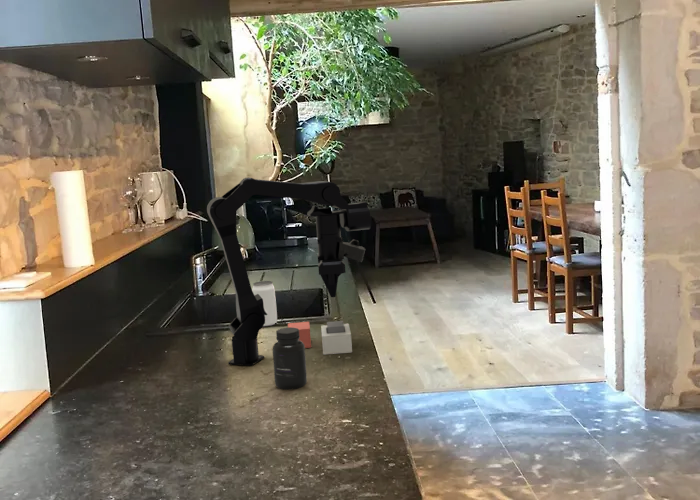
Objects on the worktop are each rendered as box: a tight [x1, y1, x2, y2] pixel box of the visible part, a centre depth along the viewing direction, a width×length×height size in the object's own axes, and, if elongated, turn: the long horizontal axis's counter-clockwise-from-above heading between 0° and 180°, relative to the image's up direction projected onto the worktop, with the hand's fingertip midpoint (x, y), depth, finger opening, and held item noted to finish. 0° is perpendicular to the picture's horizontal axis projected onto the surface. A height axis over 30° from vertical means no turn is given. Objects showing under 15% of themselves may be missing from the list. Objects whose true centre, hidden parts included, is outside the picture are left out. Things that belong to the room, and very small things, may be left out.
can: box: [251, 280, 278, 327], centre depth 198 cm, size 6×6×12 cm
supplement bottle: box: [272, 327, 308, 391], centre depth 146 cm, size 7×7×12 cm
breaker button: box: [326, 320, 345, 334], centre depth 170 cm, size 5×4×3 cm
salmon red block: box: [287, 321, 312, 349], centre depth 175 cm, size 7×6×5 cm
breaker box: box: [320, 323, 353, 356], centre depth 171 cm, size 10×7×4 cm
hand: (333, 296), depth 169 cm, fingers closed
